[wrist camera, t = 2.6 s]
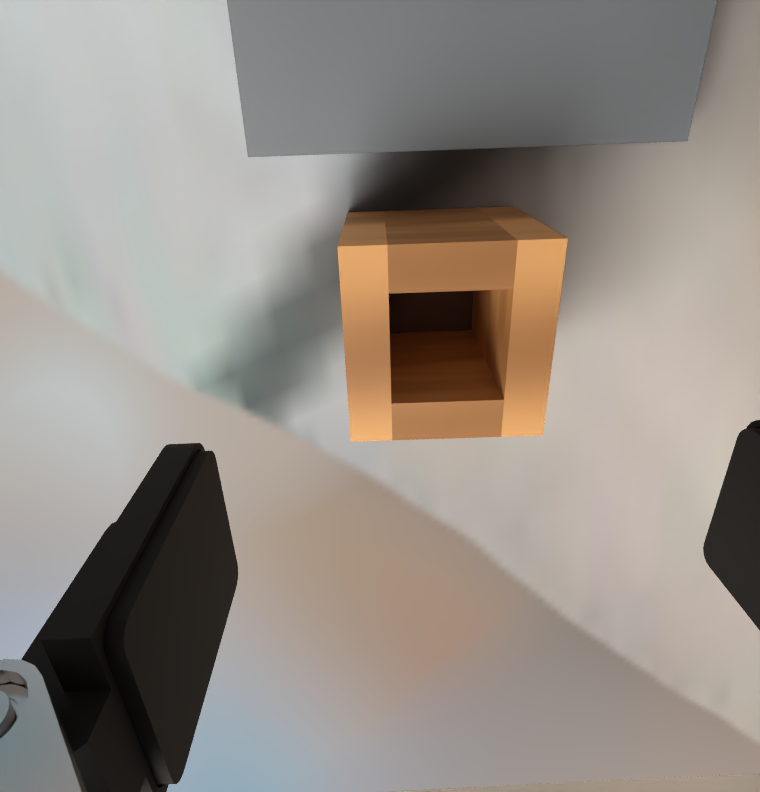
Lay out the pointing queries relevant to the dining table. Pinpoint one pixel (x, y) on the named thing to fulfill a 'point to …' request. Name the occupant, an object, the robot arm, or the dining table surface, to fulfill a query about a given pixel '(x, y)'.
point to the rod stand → (465, 73)
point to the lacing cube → (450, 350)
